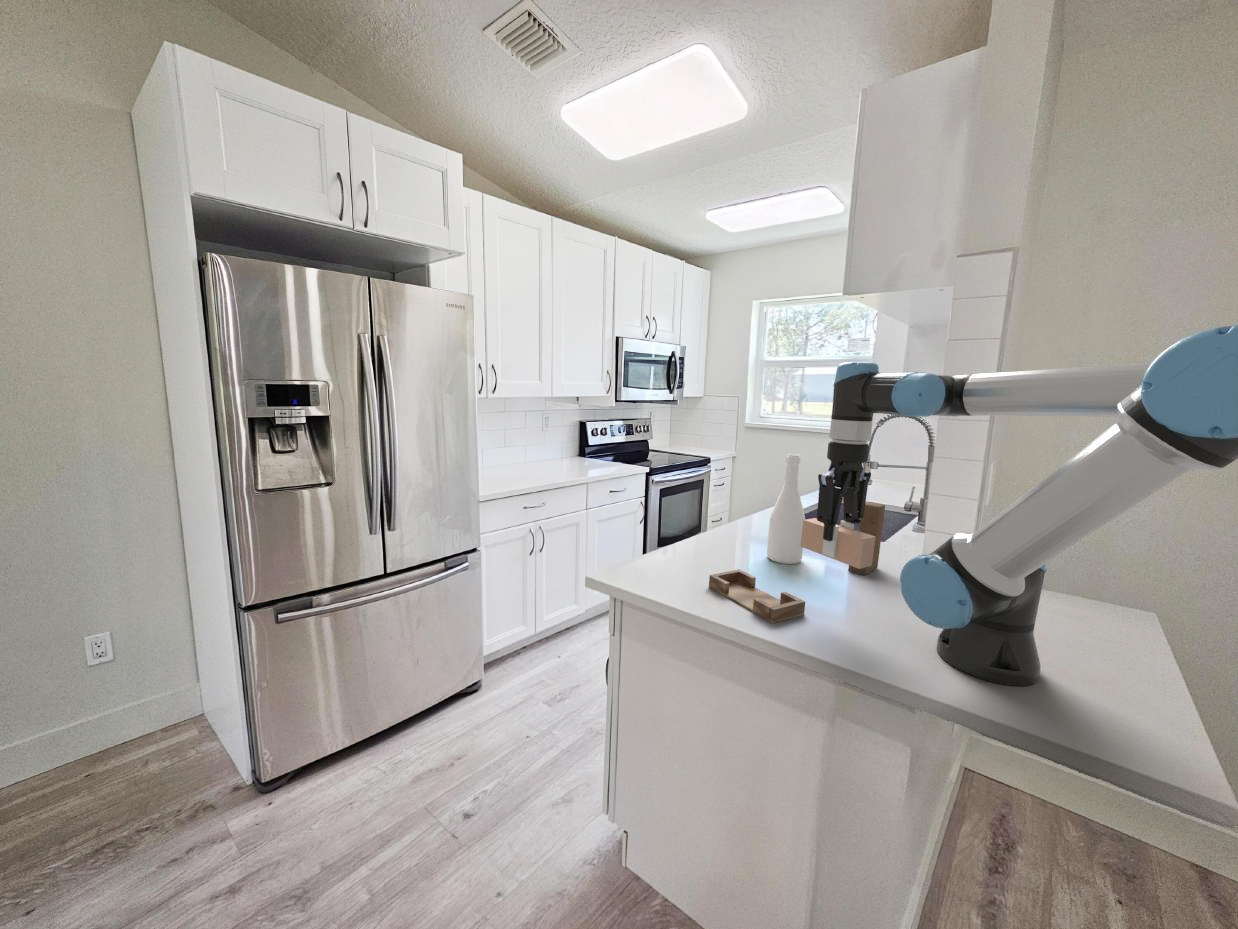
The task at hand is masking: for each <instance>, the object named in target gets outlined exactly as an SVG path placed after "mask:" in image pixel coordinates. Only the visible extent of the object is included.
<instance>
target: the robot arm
mask: <svg viewBox="0 0 1238 929" xmlns="http://www.w3.org/2000/svg"><path fill="white" fill-rule="evenodd" d="M831 408H832V409H831V416H830V417H831V420H830V426H829V435H828V436H829V439H831V440H830V441H829V442H828V444H827V452H826V458H827V459H828V460H829V461H830V465H829V468H828V471H827V472H826V473H821V472H820V473H819V474H818V475H817V479H818V483H819V484H818V485H819V488H818V502H817V514H816V518H817V521H820V522H821V523H824V533H823V539H824V541H823V550H822V554H825V555H827V556H830V557H833V558H834V557H836V551H837V542H838V533H839V526H837V525H838V524H837V523H838V519H839V515H840V510H841V508H842V507H843V520H840V524H839V525H840V526H843V527H846V528H849V529H853V530H855V526H856V524H858V525H860V522H861V519H862V518H863V516H864V510H865V503H867V502H866V501H867V494H868V487H869V482H870V479H871V477H872V473H871V472H870V471H865V470H864V467H863V464H865V463H867V462H868V461H869V455H870V453H869V452H870V445H869V443H868V442H870V441H871V439H872V429H873V418H874V414H883V415H884V414H885V415H893V416H905V417H907V418H913V417H914V418H920V417H922V418H923V417H926V418H927V417H931V416H936V417H937V416H938V417H939V416H942V417H961V416H963V417H965V416H966V417H967V416H968V417H969V416H970V417H971V416H975V417H976V416H977V417H978V416H980V417H981V416H985V417H986V416H989V417H993V416H994V417H998V416H999V417H1108V418H1109V417H1112V418H1113V417H1114V418H1116V417H1117V419H1116V420H1117V421H1116V422H1115V423H1113V424H1112V425H1111V426H1110V427H1108V428H1107V429H1106V430H1105V431H1103V432H1102V433H1101V434H1099V435H1098V436H1097V437H1095V438H1094V439H1093V440H1091V441H1090V442H1089V443H1088V444H1087V445H1085V446H1084V447H1082V448H1081V450H1079V451H1078V452H1077V453H1075V454H1074V455H1073V456H1071V457H1070V458H1069V459H1067V460H1066V461H1064V462H1063V463H1062V464H1061V465H1059V467H1057V468H1056V469H1054V470H1053V471H1052V472H1050V474H1047V476H1046V477H1044V478H1043V479H1042V480H1040V481H1039V482H1037V484H1035V485H1034V486H1033V487H1032V488H1030V489H1029V490H1027V491H1026V492H1025V493H1023V494H1022V495H1021V496H1020V497H1019V498H1017V499H1016V500H1014V501H1013V502H1012V503H1011V504H1009V505H1008V506H1007V507H1005V509H1003V510H1002V511H1000V512H999V513H998V514H996V515H995V516H994V517H993V518H991V519H990V520H989V521H988V522H987V523H985V524H984V525H983V526H981V527H980V528H978V529H977V530H976V531H975V532H971V531H958V532H957V533H955V534H954V535H953V536H952V537H950V538H948V539H947V541H945V542H944V543H942V544H941V545H939V547H938V548H936V549H934V551H931V553H929V554H921V555H920V554H919V555H918V556H915V557H913V558H912V559H910V560H908V561H907V562H906V563H905V564H904V566H903V568H902V570H901V572H900V577H899V582H900V585H901V587H900V592H901V595H902V598H903V600H904V602H905V604H906V605H907V607H908V608H909V610H910V611H911V612H912V613H913V614H914V615H915V616H916V617H917V618H918V619H919V620H921V621H922V622H923V623H925V624H927V625H929V626H932V627H934V628H936V629H937V628H938V629H941V631H940V633H939V635H938V636H937V641H936V651H937V654H938V655H939V657H940V658H942V660H944V661H945V662H946V663H948V664H949V665H950V666H953V667H954V668H956V669H958V670H960V671H961V672H963V673H966V674H969V675H970V676H973V677H975V678H978V679H982V680H984V681H987V682H991V683H996V684H1000V685H1007V686H1014V687H1016V686H1017V687H1023V686H1031V685H1034V684H1036V683H1037V682H1039V679H1040V673H1041V661H1040V660H1041V659H1040V656H1039V653H1038V652H1039V651H1038V649H1037V644H1036V639H1035V635H1034V632H1035V626H1036V620H1037V615H1038V611H1039V610H1038V609H1039V605H1040V599H1041V595H1042V594H1041V593H1042V589H1043V585H1044V580H1045V579H1044V578H1045V573H1047V568H1046V564H1047V563H1049V562H1051V561H1052V560H1054V559H1055V558H1057V557H1058V556H1060V555H1062V554H1063V553H1065V552H1066V551H1067V550H1070V549H1071V548H1072V547H1074V546H1075V545H1076V544H1079V543H1080V542H1081V541H1083V540H1084V539H1086V538H1087V537H1089V536H1091V535H1092V534H1094V533H1095V532H1097V531H1099V530H1100V529H1102V528H1104V527H1105V526H1107V525H1108V524H1109V523H1111V522H1112V521H1114V520H1116V519H1117V518H1119V517H1120V516H1122V515H1123V514H1125V513H1126V512H1128V511H1129V510H1132V508H1135V507H1136V506H1137V505H1139V504H1140V503H1142V502H1143V501H1146V499H1148V498H1150V497H1152V496H1153V495H1154V494H1156V493H1157V492H1159V491H1160V490H1162V489H1163V488H1166V486H1168V485H1170V484H1172V483H1173V482H1175V481H1176V480H1177V479H1179V478H1180V477H1183V476H1184V475H1185V474H1187V473H1189V472H1191V471H1194V470H1222V469H1224V468H1225V467H1226V466H1228V465H1230V464H1232V463H1233V462H1235V461H1237V460H1238V324H1235V325H1227V326H1226V325H1225V326H1220V327H1214V328H1210V329H1205V330H1203V331H1200V332H1197V333H1194V334H1191V335H1189V336H1187V337H1184V338H1182V339H1181V340H1178V341H1176V342H1174V343H1173V344H1171V345H1170V346H1168V347H1167V348H1166V349H1165V350H1164V351H1162V352H1160V354H1159V355H1157V357H1155V359H1154V360H1153V361H1152V362H1142V363H1141V362H1139V363H1137V362H1136V363H1123V364H1110V365H1094V366H1081V367H1079V366H1077V367H1065V368H1062V367H1061V368H1051V369H1050V368H1047V369H1035V370H1032V369H1031V370H1019V371H1017V370H1016V371H1005V372H1003V371H1001V372H988V373H985V372H984V373H970V374H956V375H955V374H954V375H941V374H939V375H937V374H934V373H932V372H931V373H929V372H927V373H926V372H918V371H915V372H913V371H912V372H890V373H889V372H887V373H885V372H884V373H883V372H880V371H879V365H878V363H875V362H861V361H859V362H858V361H857V362H856V361H855V362H853V361H852V362H850V361H849V362H842V363H840V364H839V365H837V368H836V372H835V377H834V383H833V397H832V407H831ZM842 504H843V506H842ZM836 524H837V525H836ZM827 556H826V557H827Z"/></svg>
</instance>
